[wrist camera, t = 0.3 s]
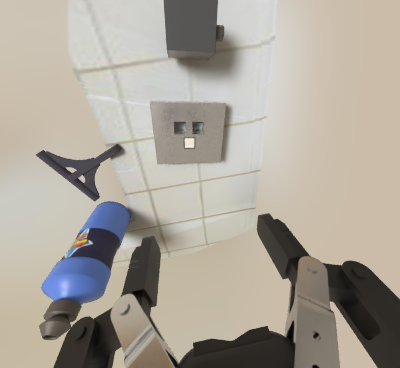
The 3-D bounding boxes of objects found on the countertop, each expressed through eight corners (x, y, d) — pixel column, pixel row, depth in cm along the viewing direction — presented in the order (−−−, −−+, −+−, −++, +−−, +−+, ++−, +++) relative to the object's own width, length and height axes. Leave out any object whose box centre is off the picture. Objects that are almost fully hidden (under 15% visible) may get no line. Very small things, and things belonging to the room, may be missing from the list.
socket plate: (151, 100, 31) (149, 101, 28) (222, 102, 32) (226, 103, 30) (158, 159, 37) (157, 164, 34) (217, 157, 39) (220, 162, 36)
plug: (166, 19, 25) (163, -6, 18) (214, 23, 26) (228, 1, 19) (168, 59, 28) (166, 50, 21) (212, 61, 29) (224, 53, 22)
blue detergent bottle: (138, 217, 45) (102, 334, 23) (113, 231, 46) (59, 353, 25) (112, 195, 40) (37, 316, 19) (86, 212, 42) (-11, 341, 20)
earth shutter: (184, 137, 33) (184, 138, 32) (193, 137, 33) (194, 138, 32) (184, 146, 34) (184, 147, 33) (193, 146, 34) (194, 147, 33)
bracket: (142, 169, 38) (140, 175, 36) (96, 198, 41) (91, 205, 38) (93, 114, 31) (86, 116, 29) (40, 153, 33) (29, 157, 31)
